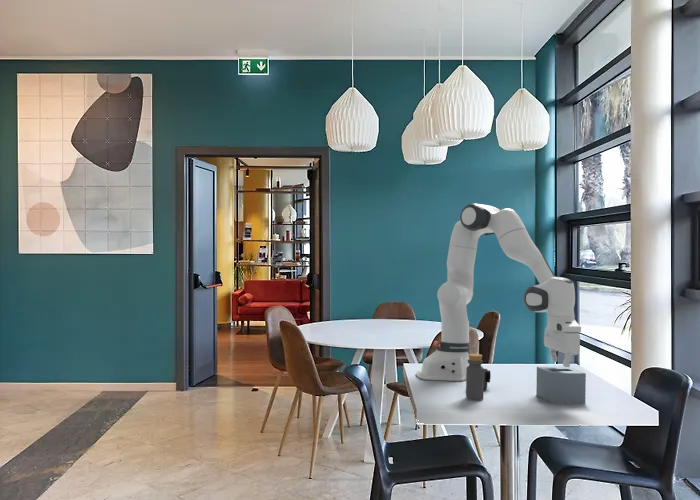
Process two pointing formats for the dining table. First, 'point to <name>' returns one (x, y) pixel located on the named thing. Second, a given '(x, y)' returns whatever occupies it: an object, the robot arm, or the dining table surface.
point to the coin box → (561, 384)
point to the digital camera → (486, 378)
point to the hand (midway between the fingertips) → (560, 364)
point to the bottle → (474, 378)
